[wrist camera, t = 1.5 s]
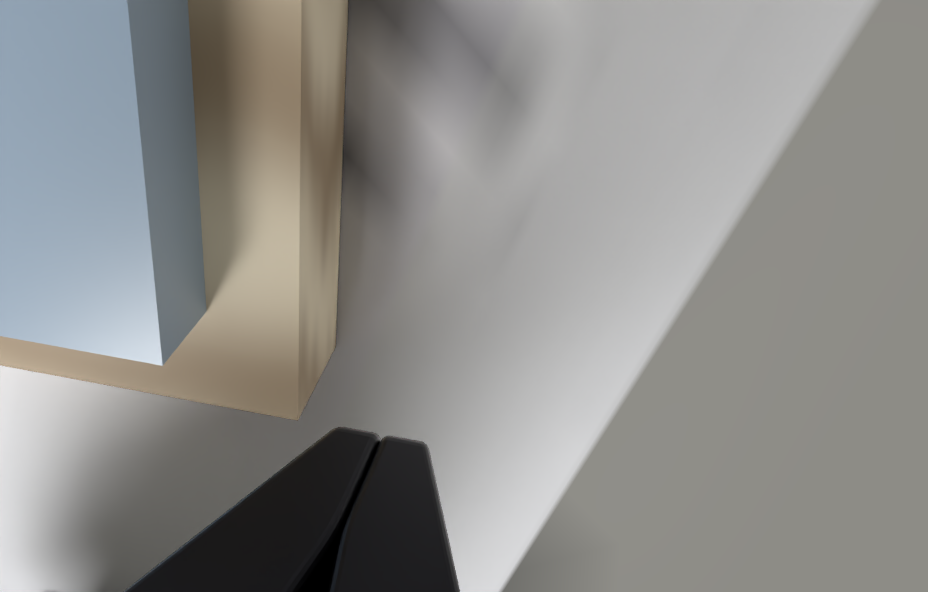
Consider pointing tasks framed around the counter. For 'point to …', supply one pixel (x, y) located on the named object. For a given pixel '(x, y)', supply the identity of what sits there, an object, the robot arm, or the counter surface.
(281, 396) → the panel
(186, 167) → the blue-grey block
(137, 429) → the counter surface
